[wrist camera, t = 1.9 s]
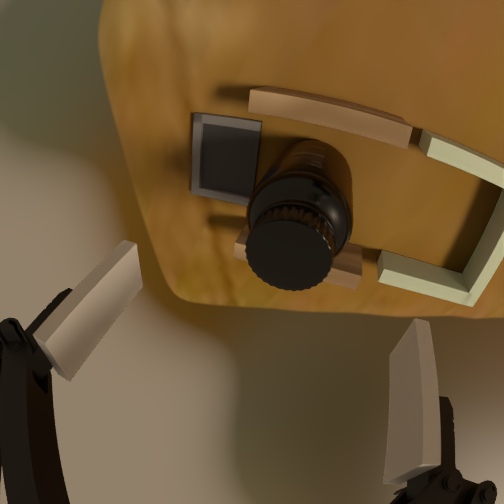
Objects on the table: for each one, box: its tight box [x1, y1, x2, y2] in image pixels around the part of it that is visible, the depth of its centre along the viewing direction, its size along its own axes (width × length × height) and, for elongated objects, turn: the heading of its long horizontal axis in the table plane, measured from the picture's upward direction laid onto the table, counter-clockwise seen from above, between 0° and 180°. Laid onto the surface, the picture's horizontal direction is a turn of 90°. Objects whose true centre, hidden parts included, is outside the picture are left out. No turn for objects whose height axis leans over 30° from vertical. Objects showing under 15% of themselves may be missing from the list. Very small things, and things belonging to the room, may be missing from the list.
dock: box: [377, 129, 504, 307], centre depth 22 cm, size 14×11×3 cm
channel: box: [234, 86, 413, 290], centre depth 23 cm, size 14×11×4 cm
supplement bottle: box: [245, 140, 353, 291], centre depth 20 cm, size 7×7×12 cm
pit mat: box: [191, 112, 262, 206], centre depth 26 cm, size 8×6×1 cm
